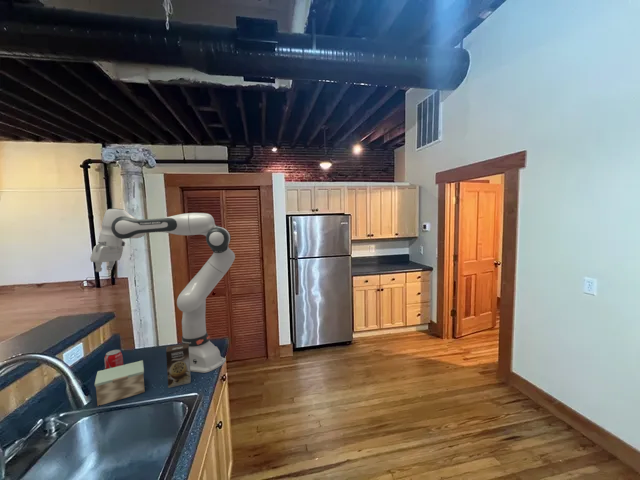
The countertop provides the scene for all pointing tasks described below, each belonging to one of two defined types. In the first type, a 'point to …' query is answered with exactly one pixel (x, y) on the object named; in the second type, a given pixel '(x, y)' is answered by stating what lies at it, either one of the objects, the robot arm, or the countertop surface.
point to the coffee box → (178, 365)
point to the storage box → (119, 389)
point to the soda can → (113, 359)
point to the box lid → (119, 373)
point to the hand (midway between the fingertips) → (103, 270)
